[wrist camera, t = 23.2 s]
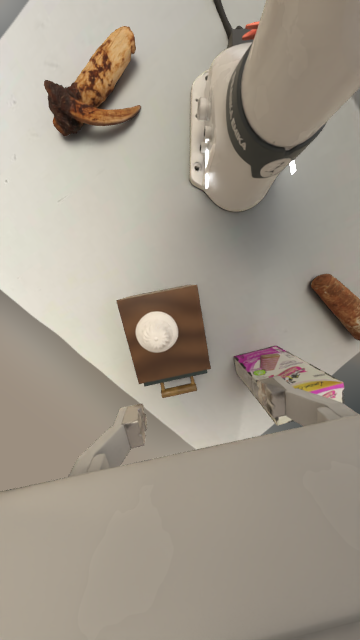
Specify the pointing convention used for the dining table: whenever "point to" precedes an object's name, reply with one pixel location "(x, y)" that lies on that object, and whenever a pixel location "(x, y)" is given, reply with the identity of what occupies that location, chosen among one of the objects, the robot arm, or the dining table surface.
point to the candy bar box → (286, 375)
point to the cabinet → (191, 334)
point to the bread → (339, 302)
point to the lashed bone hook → (94, 87)
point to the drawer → (177, 389)
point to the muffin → (157, 331)
